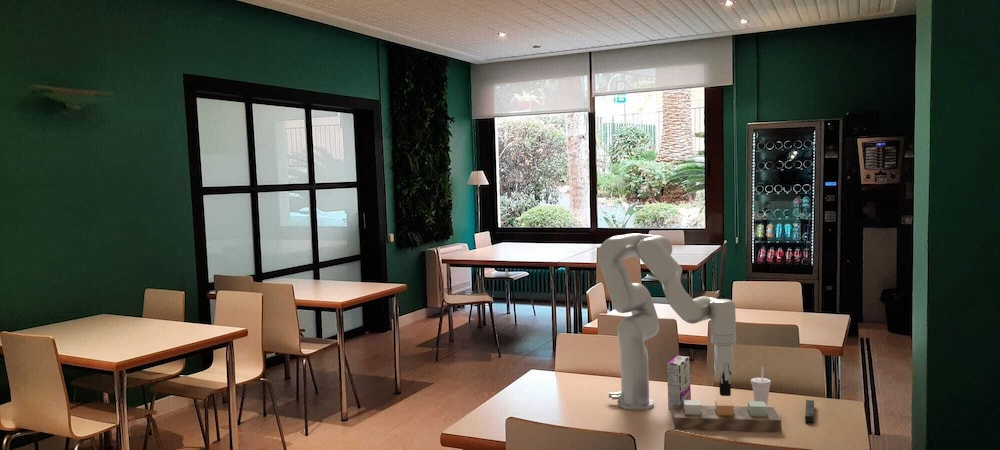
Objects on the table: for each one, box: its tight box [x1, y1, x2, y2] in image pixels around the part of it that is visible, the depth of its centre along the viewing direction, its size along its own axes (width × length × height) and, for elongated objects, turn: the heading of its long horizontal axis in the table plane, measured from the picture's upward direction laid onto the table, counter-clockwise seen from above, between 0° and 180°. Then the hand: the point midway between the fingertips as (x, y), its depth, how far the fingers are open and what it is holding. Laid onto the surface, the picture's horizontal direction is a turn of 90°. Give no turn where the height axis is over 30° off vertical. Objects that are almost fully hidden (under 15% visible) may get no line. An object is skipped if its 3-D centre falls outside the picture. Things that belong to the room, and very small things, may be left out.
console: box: [671, 405, 783, 434], centre depth 224 cm, size 32×12×4 cm, turn 79°
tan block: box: [715, 399, 735, 416], centre depth 224 cm, size 5×5×4 cm
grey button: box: [684, 399, 702, 415], centre depth 226 cm, size 5×5×4 cm
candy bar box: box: [666, 355, 692, 411], centre depth 243 cm, size 11×5×16 cm, turn 148°
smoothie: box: [750, 367, 772, 407], centre depth 238 cm, size 6×6×14 cm
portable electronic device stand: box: [804, 399, 815, 425], centre depth 229 cm, size 18×3×3 cm, turn 155°
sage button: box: [747, 400, 768, 416], centre depth 222 cm, size 5×5×4 cm
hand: (725, 395), depth 223 cm, fingers closed
